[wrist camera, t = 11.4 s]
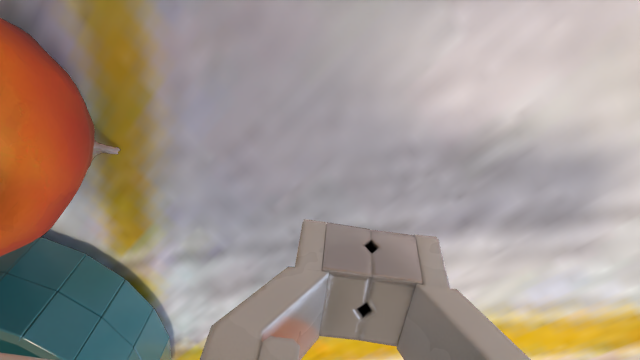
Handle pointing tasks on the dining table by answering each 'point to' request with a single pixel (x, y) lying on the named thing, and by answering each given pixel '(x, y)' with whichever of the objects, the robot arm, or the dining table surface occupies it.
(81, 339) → the bowl
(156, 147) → the dining table surface
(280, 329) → the robot arm
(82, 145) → the fruit
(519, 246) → the dining table surface
